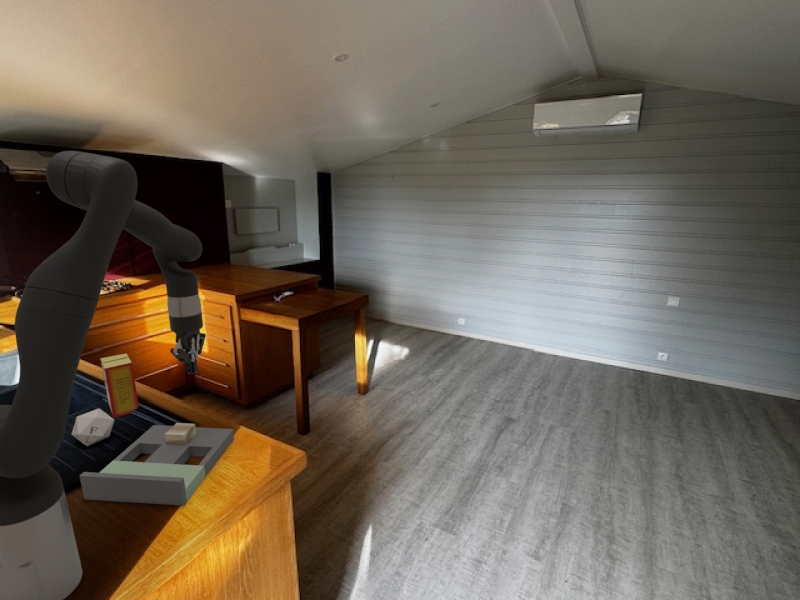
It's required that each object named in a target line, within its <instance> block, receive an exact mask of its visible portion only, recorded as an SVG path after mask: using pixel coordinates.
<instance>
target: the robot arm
mask: <svg viewBox="0 0 800 600" xmlns="http://www.w3.org/2000/svg"><path fill="white" fill-rule="evenodd" d="M45 177H46V181H47V182H46V183H47V184H48V187H49V189H50V190H51V192H52V194H54V195H55V197H56V198H58V200H60V201H62V202H64V203H66V204H68V205H71V206H74V207H76V208H78V209H81V210H84V211H86V213H85V215H84V218H83V220H82V222H81V225H80V226H79V228H78V230H77V231H76V232H75V234H74V235H72V237H71V238H70V239H69V240H68V241H67V242H66V243H64V244H63V245H62V246H61V247H60V248H58V249H57V250H55V251H54V252H53V253H52V254H51V255H50V256H48V257H46V259H45V260H43V261H42V262H41V263H40V264H39V265H38V266H37V267H36V268H35V269H34V270H33V271H32V272H31V274H30V275H29V277H28V279H27V281H26V283H25V286H24V289H23V291H22V294H21V298H20V300H19V303H18V307H17V309H16V311H15V312H16V313H15V317H14V333H15V341H16V347H17V354H18V359H19V378H18V379H19V380H18V384H17V389H16V392H15V394H14V397H13V399H12V404H11V405H10V404H0V600H65V599H66V598H68V597H69V595H71V594H72V593H73V592H74V591H75V589H76V588H77V587H78V586H79V584H80V582H81V580H82V577H83V569H82V568H83V567H82V563H81V559H80V554H79V550H78V545H77V542H76V538H75V537H76V536H75V533H74V527H73V523H72V519H71V515H70V510H69V506H68V501H67V496H66V492H65V488H64V483H63V481H62V477H61V475H60V474H59V472H57V470H55V469H54V468H53V467H51V465H50V464H49V463H50V462H51V460H53V458H54V457H55V456H56V455H57V452H58V450H59V449H60V446H61V444H62V442H63V438H64V435H65V430H66V426H67V421H68V415H69V409H70V405H71V397H72V394H73V388H74V383H75V379H76V376H77V370H78V368H79V365H80V362H81V357H82V353H83V350H84V346H85V343H86V339H87V336H88V332H89V331H90V327H91V325H92V321H93V318H94V317H95V313H96V309H97V306H98V302H99V299H100V296H101V295H100V294H101V291H102V287H103V284H104V280H105V278H106V274H107V271H108V268H109V265H110V262H111V259H112V256H113V254H114V251H115V248H116V245H117V244H118V240H119V238H120V236H121V233H122V232H123V230H124V231H125V232H127V233H129V234H131V235H132V236H134V237H135V238H137V239H138V240H140V241H141V242H143V243H144V244H146V245H147V246H149V247H150V248H152V253H153V255H154V258H155V260H156V262H157V264H158V266H159V269H160V270H161V273H162V276H163V278H164V280H165V289H166V295H167V299H166V300H167V301H166V302H167V313H168V320H169V321H168V322H169V327H170V330H171V331H170V332H172V333H174V334H175V339H174V341H175V344H176V345H175V346H174V347H171V348H170V350H169V351H170V353H171V355H173V357H174V358H175V359H176V360H177V361H178V362H179V363H185V369H186V374H187V375H189V376H191V375H192V376H194V375H196V374H197V373H198V372H199V369H198V359H199V355H202V352H203V348H204V344H205V341H206V335H207V333H205V332H203V333H202V332H201V329H203V326H204V322H203V321H204V320H203V313H202V312H203V311H202V302H201V299H200V298H201V297H200V293H199V285H198V277H197V273H195V272H194V271H193V270H190V269H185V268H182V267H180V265H179V264H178V263H179V262H180V263H181V262H183V263H184V262H187V263H189V262H190V263H191V262H194V261H197V260H198V259H199V258H200V257H201V255H202V252H203V244H202V242H201V240H200V238H199V237H198V236H197V234H195V233H194V232H193V231H191V230H189V229H186V228H184V227H182V226H180V225H177V224H175V223H172V222H171V221H170V220H169V219H168V218H167V217H166V216H164V215H163V214H162V213H161V212H159V211H158V210H157V209H154V207H151V206H150V205H149V206H148V205H147V204H145V203H143V202H140V201H139V200H136V197H137V192H138V177H137V173H136V170H135V169H134V167H133V166H132V164H130V163H129V162H128V161H126V160H125V159H121V158H118V157H112V156H109V155H108V156H107V155H102V154H96V153H90V152H85V151H77V150H63V151H60V152H57V153H55V154H54V155H53V156H52V157H51V158H50V159H49V161H48V162H47V166H46V169H45ZM177 262H178V263H177Z"/></svg>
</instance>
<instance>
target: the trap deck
mask: <svg viewBox="0 0 800 600" xmlns="http://www.w3.org/2000/svg"><path fill="white" fill-rule="evenodd" d="M173 426H174V425H160V424H159V425H158V424H153V425H152V426H150V427H149V429H148V430H146V431H144V433H143V434H142V435H141V436H139V438H137V439H136V440H135V441H133V443H131V444H130V445H129V446H128V447H127V448H125V449H124V451H122V452H121V453H120V454H119V455H118V456H117V457H116V458H114V459H113V460H112V461H111V462H110V463H109V464H106V466H105V467H104V468H103V469H102V470H100V471H99V472H92V471H91V472H89V471H83V472H82V473H81V474H80V475H79V479H80V484H81V485H80V486H81V489H82V495H83V499H84V500H88V501H89V500H91V501H104V502H105V501H106V502H122V503H137V504H138V503H139V504H156V505H170V506H171V505H172V506H185V505H186V503H187V502H188V501H189V499H190V498H191V497H192V495H193V494H194V493H195V491H196V490H197V489H198V487H199V486H200V484H201V483H202V482H203V481H204V479H206V476H207V475H208V474H209V473H210V472H211V471H212V469H213V468H214V466H215V465H216V464H217V462H218V461H219V459H220V458H221V457H222V456H223V455H224V453H225V452H226V451H227V449H228V447H229V446H230V445H231V444H232V442H233V441H234V440H235V435H234V429H233V428H216V427H215V428H214V427H200V426H199V427H197V426H195V427H196V435H195V436H194V437H193V438H192V439H191V440H190V441H189V443H188V444H187V445H186V446H184V445H166V439H165V433H166V432H168V431H169V430H170V429H171V428H172V427H173ZM141 454H144V455H145V454H148V455H150V456H149V457H148V458H147V459H145V461H144V462H143V461H142V462H141V461H134V460H135V459H137V458H138V456H140V455H141ZM191 457H198V458H199V457H200V458H203V459H202V460H201V461H200V462H199V463H198V465H196V464H185V463H186V462H187V461H188V460H189V459H190V458H191Z"/></svg>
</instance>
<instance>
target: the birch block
mask: <svg viewBox="0 0 800 600" xmlns="http://www.w3.org/2000/svg"><path fill="white" fill-rule="evenodd" d="M172 426H173V427H172V428H171V429H170V430H169V431H168V432H166V433H165V439H166V445H184V446H186V445H187V444H188V443H189V441H190V440H191V439H192V438H193V437H194V436H195V435H196V427H197V426H196V424H195V423H187V422H186V423H182V422H176V423H175V424H174V425H172Z"/></svg>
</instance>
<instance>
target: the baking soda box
mask: <svg viewBox="0 0 800 600" xmlns="http://www.w3.org/2000/svg"><path fill="white" fill-rule="evenodd" d="M99 359H100V363H101V369H102V376H103V379H104V380H103V382H104V387H105V391H106V397H107V403H108V407H109V410H110V412H111V415H112V418H113V419H115V418H118V417H123V416H126V415H130V414H131V413H130V412H132V411H133V410H134V409H137V408H138V407H139V408H140V405H139V398H138V393H137V386H136V381H135V374H134V368H133V362H132V360H131V359H130V357H129V355H128V353H126V352H125V353H121V354H113V355H109V356H105V357H104V356H103V357H100V358H99ZM129 413H130V414H129Z"/></svg>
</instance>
